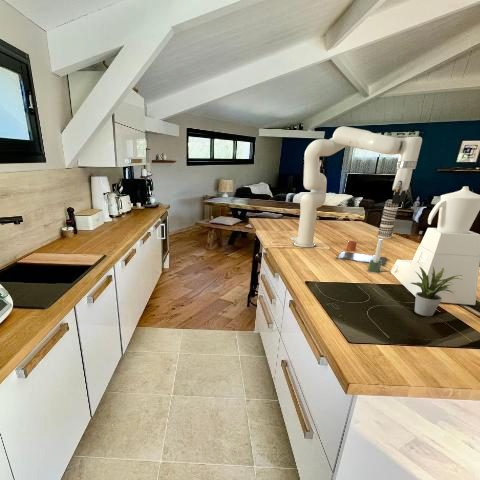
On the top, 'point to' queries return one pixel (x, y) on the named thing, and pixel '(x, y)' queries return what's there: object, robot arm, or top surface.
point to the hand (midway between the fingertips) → (397, 202)
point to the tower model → (388, 219)
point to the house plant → (430, 292)
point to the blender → (448, 250)
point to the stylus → (378, 250)
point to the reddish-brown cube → (351, 245)
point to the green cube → (374, 266)
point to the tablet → (359, 257)
